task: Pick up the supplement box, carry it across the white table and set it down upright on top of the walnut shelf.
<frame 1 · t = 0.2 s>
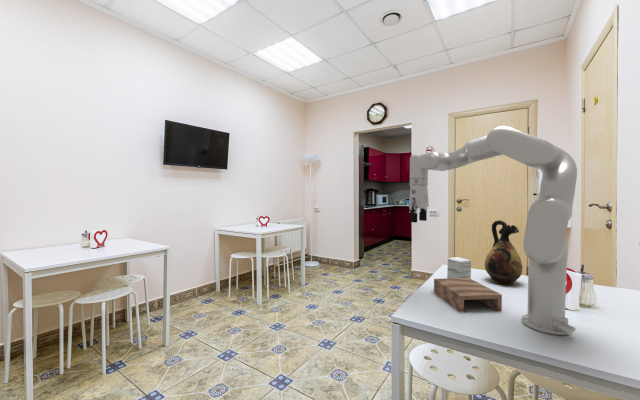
hand: (418, 221, 122), 31 cm above the table, tool pointing down, fingers open, 9 cm apart
ceramic jug: (501, 282, 135), on the table
supplement box: (458, 285, 130), on the table
walnut shelf: (464, 300, 111), on the table
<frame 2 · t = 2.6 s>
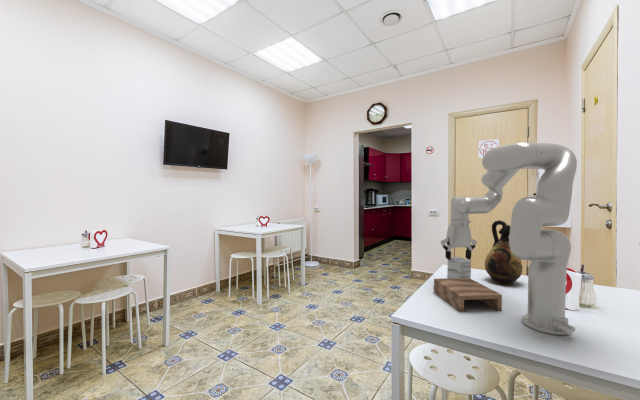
hand: (458, 259, 130), 12 cm above the table, tool pointing down, fingers open, 9 cm apart
supplement box: (458, 285, 130), on the table, touching gripper
everything else where it was.
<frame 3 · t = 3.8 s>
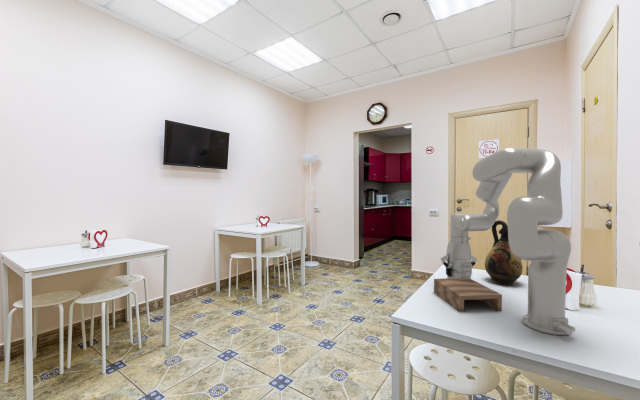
hand: (458, 275, 130), 5 cm above the table, tool pointing down, fingers closed on supplement box, 9 cm apart
supplement box: (458, 285, 130), on the table, touching gripper
everything else where it was.
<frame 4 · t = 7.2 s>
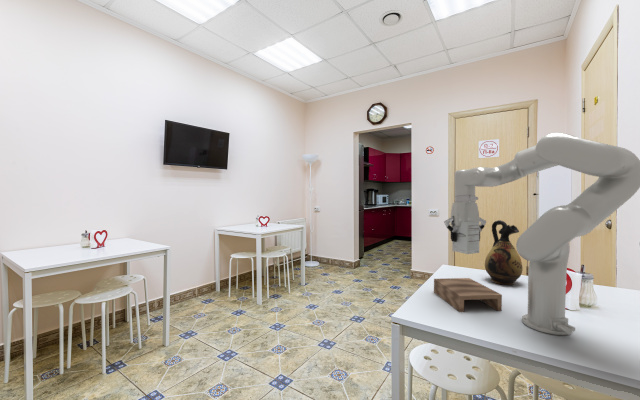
hand: (465, 241, 114), 24 cm above the table, tool pointing down, fingers closed on supplement box, 9 cm apart
supplement box: (465, 252, 114), point 19 cm above the table, touching gripper
everything else where it was.
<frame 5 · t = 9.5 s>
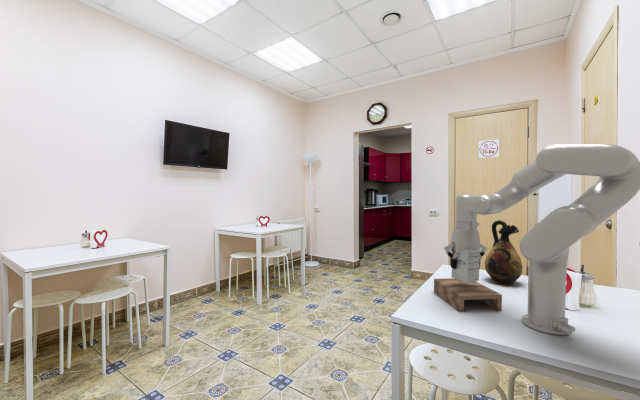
hand: (465, 268, 111), 13 cm above the table, tool pointing down, fingers closed on supplement box, 9 cm apart
supplement box: (465, 279, 111), point 9 cm above the table, touching gripper
everything else where it was.
when the fingers open (12 cm above the table, at t = 10.6 s): supplement box drops 1 cm, resting on walnut shelf.
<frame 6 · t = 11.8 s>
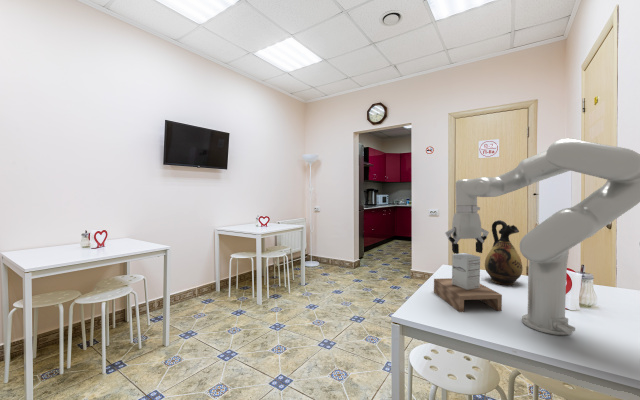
hand: (467, 252, 110), 20 cm above the table, tool pointing down, fingers open, 9 cm apart
supplement box: (465, 286, 111), point 6 cm above the table, touching walnut shelf
everything else where it was.
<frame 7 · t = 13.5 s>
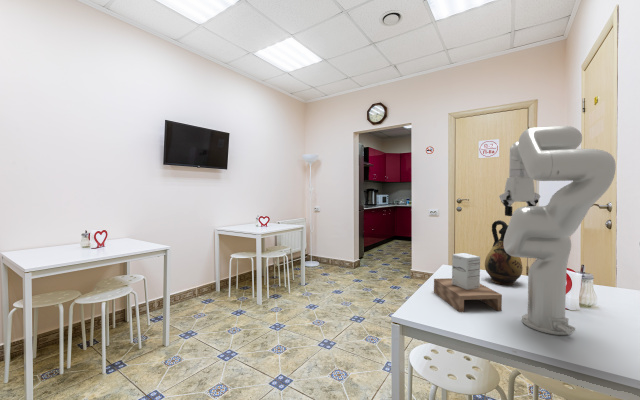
hand: (519, 215, 114), 34 cm above the table, tool pointing down, fingers open, 9 cm apart
nothing on the table moved.
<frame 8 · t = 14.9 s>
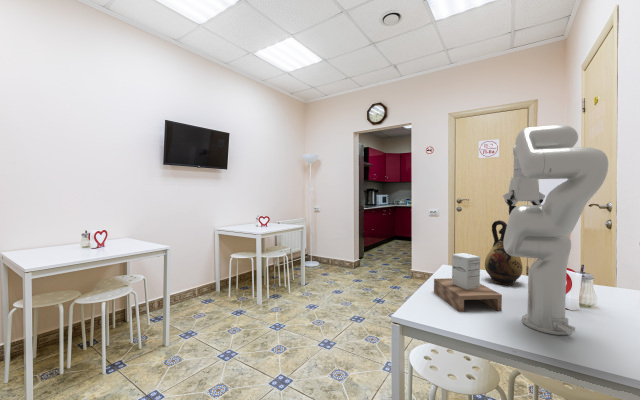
hand: (523, 215, 114), 34 cm above the table, tool pointing down, fingers open, 9 cm apart
nothing on the table moved.
at the end: supplement box inside the target area on the walnut shelf (0.2 cm from its centre), point 5.8 cm above the walnut shelf's base; supplement box tilted 0°; the gripper is holding nothing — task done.
